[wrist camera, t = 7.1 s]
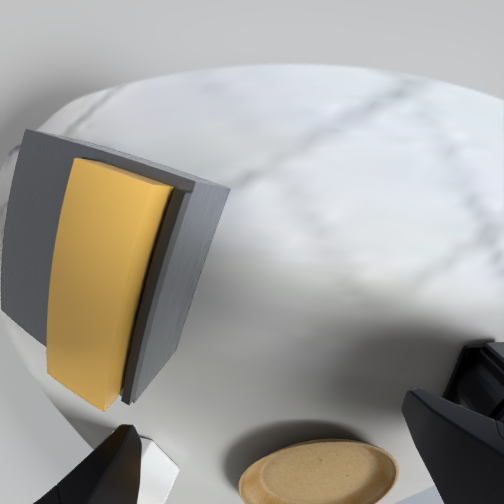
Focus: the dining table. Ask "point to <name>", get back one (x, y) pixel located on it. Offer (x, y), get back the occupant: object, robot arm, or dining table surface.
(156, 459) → the jar
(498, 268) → the dining table surface
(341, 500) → the plant saucer
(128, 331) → the key
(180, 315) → the box
